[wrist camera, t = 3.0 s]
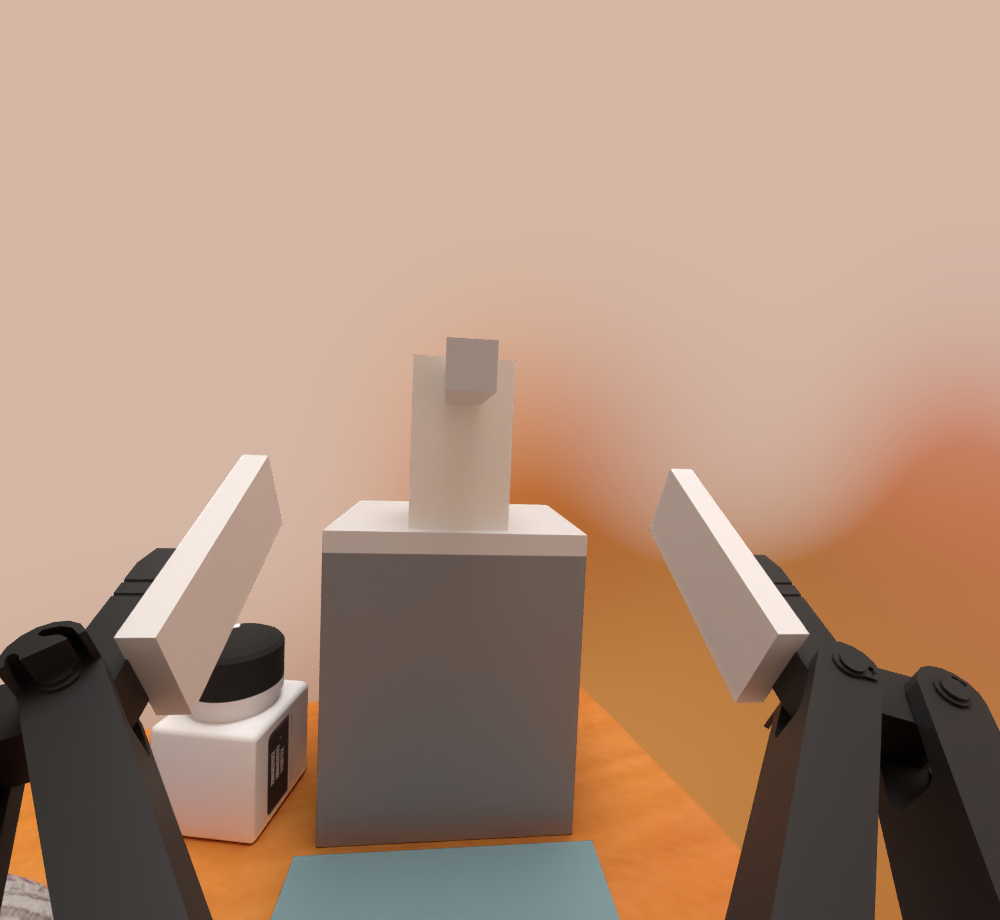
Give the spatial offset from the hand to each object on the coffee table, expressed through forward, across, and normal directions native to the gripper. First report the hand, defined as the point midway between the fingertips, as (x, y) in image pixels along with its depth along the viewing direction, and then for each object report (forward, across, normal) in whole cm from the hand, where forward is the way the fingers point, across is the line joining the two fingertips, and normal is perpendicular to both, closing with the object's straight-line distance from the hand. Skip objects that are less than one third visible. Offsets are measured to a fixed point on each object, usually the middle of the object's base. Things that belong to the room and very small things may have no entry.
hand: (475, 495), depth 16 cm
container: (+5, -16, -34) cm, 38 cm away
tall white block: (+11, 0, -12) cm, 16 cm away
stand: (+7, 0, -35) cm, 36 cm away
